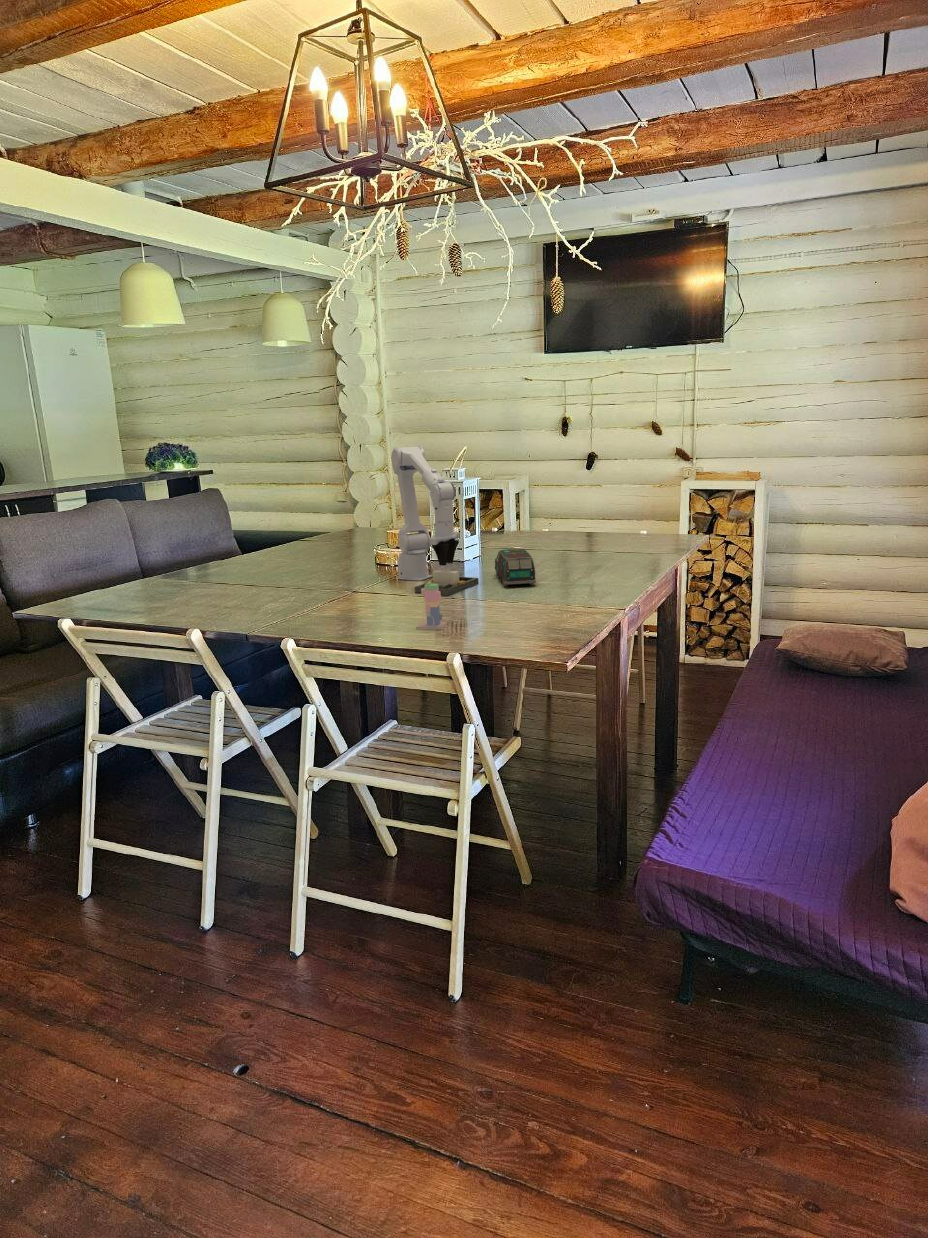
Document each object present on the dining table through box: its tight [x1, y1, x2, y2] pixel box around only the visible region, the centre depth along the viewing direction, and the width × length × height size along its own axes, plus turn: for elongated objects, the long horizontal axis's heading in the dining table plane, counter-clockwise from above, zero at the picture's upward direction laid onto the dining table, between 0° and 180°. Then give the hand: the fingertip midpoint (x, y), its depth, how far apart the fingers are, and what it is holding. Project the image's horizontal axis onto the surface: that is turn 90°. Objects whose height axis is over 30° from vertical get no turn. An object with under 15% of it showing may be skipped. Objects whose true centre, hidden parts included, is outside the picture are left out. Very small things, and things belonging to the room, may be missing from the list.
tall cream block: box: [432, 569, 460, 585], centre depth 269 cm, size 8×3×5 cm, turn 59°
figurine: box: [415, 580, 448, 631], centre depth 222 cm, size 7×6×12 cm
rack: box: [414, 576, 480, 597], centre depth 269 cm, size 12×19×3 cm, turn 149°
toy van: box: [494, 548, 537, 588], centre depth 277 cm, size 11×25×10 cm, turn 5°
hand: (446, 564), depth 268 cm, fingers open, 3 cm apart
